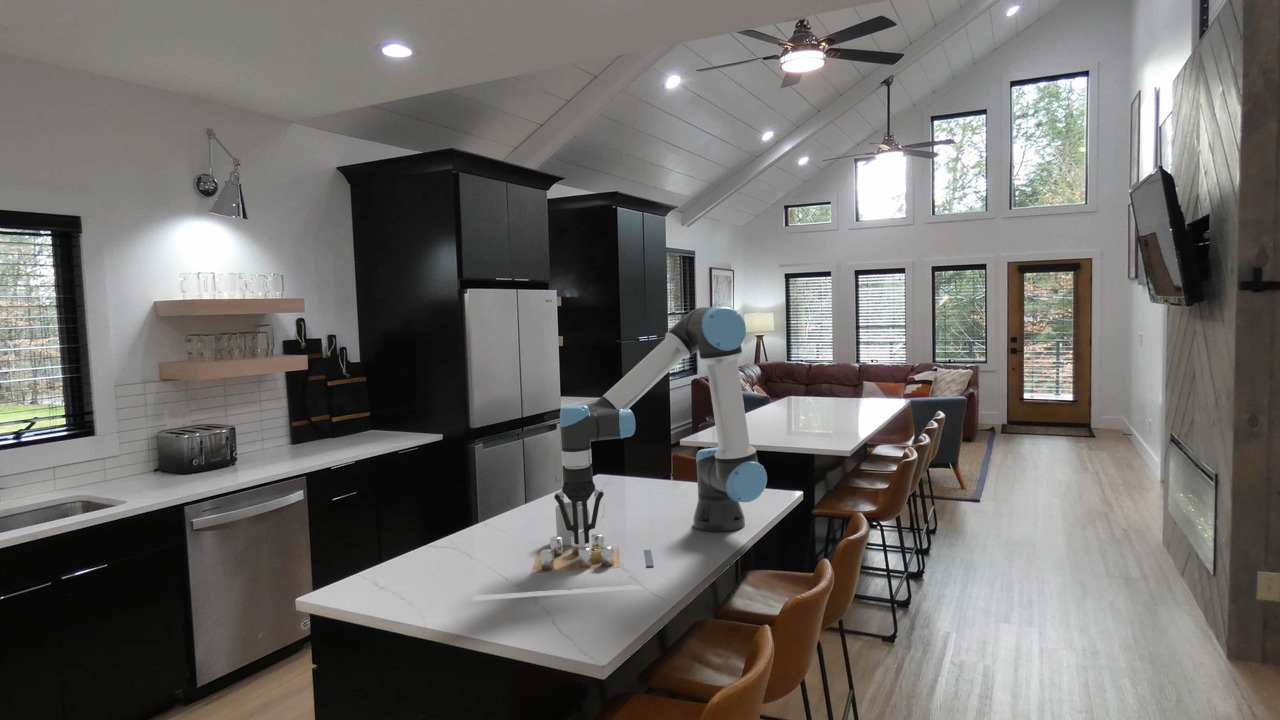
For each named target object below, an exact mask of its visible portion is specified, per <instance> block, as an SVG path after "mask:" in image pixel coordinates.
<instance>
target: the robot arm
mask: <svg viewBox="0 0 1280 720" xmlns="http://www.w3.org/2000/svg"><path fill="white" fill-rule="evenodd" d="M746 334H747V325H746V323H745V321H744V318H743V317H742V315H741V314H740V313H739V312H738V311H737V310H735V309H734V308H733V307H732V308H731V307H730V306H729V307H728V306H722V305H718V306H708V307H706V306H705V307H699V308H698V307H697V308H695V309H693V310H691V311H689V312H687V314H685V315H684V316H683V317H682V318H681V319H680V320H679V321H678V322H676V323H675V325H673V326H672V328H670V329H669V330H668V331H667V332H666V333H665V337H664V339H663V340H662V341H661V342H660V343H658V345H657V346H655V347H654V349H653V350H651V351H650V352H649V353H648V354H647V355H646V356H645V357H644V358H642V360H641V361H639V362H638V363H637V364H636V365H635V366H634V367H632V369H631V370H629V371H628V372H627V373H626V374H625V375H624V376H623V377H622V378H620V380H619V381H618V382H617V383H615V384H614V385H613V386H612V387H611V388H609V390H608V391H606V393H604V394H603V395H602V396H601V397H600V398H599V399H597V400H596V401H595V402H594V403H591V404H590V403H589V404H588V405H584V404H573V405H571V404H570V405H567V406H566V405H565V406H563V407H561V409H560V411H559V428H560V429H559V430H560V438H561V441H560V442H561V459H562V460H561V463H562V466H563V468H562V475H563V476H562V477H563V485H562V487H561V490H560V491H559V492H556V493H555V494H554V497H553V499H554V500H555V501H556V503H558V504H559V506H560V510H561V513H562V516H563V519H564V522H565V526H566V529H567V530H568V531H573V532H574V543H575V544H579V548H581V547H586V544H589V543H590V531H591V530H593V529H595V528H596V525H597V519H598V513H599V508H600V503H601V501H602V498H603V497H604V495H605V494H604V489H598V488H597V487H596V484H595V483H594V480H593V479H594V477H593V466H592V462H593V460H592V445H591V444H592V443H591V442H596V441H603V440H604V441H605V440H615V439H624V438H629V437H632V436H633V435H635V431H636V418H635V415H634V414H635V413H634V412H633V411H632V409H630V408H631V407H632V406H633V405H634V404H635V403H636V402H637V401H639V400H640V398H642V397H643V396H644V395H645V394H646V393H648V391H649V390H651V388H653V387H654V385H656V384H657V383H658V382H660V380H661V379H662V378H664V376H666V375H667V374H668V373H669V372H670V371H671V370H673V368H674V367H675V366H676V365H678V364H679V363H680V362H681V361H682V360H683V359H689V358H690V357H692V355H694V354H695V353H697V352H698V353H699V358H700V360H701V361H702V362H703V363H705V365H706V371H707V377H708V383H709V391H710V396H711V405H712V411H713V417H714V423H715V424H714V425H715V431H716V438H717V444H718V446H717V447H710V448H709V447H708V448H704V449H703V448H702V449H700V450H698V451H697V452H696V456H695V457H696V461H695V464H696V477H697V479H696V480H697V494H698V495H697V496H698V497H697V499H698V500H697V504H696V508H695V512H694V514H693V519H692V520H693V527H694V528H696V529H697V530H700V531H706V532H715V533H716V532H720V533H722V532H730V531H735V530H739V529H741V528H744V526H745V525H746V524H745V523H746V520H745V519H746V518H745V515H744V512H743V509H742V507H741V504H740V503H751V502H754V501H755V500H757V499H758V498H760V496H761V495H762V494H763V492H765V489H766V486H767V483H768V475H767V471H766V469H765V468H764V466H763V465H762V464H761V463H760V462H759V461H758V455H757V449H756V448H755V447H753V446H752V445H751V443H750V437H749V432H748V431H749V430H748V425H747V424H748V423H747V416H746V411H745V402H744V397H743V396H744V395H743V388H742V382H741V376H740V375H741V374H740V368H739V358H740V357H741V355H742V353H743V349H742V344H743V342H744V340H745V339H746ZM593 493H594V495H593ZM592 495H593V496H594V498H595V499H594V505H593V510H592V515H591V519H590V522H589V524H588V510H589V508H588V500H589V499H590V498H591V496H592ZM565 497H566V498H567V499H568V500H569V502H572V512H573V525H571V522H570V518H569V515H568V512H567V509H566V506H565V503H566V502H565V501H564V499H565ZM577 502H581V503H582V511H583V527H584V530H579V524H578V507H577ZM558 504H557V505H558Z"/></svg>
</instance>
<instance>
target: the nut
mask: <svg viewBox="0 0 1280 720" xmlns="http://www.w3.org/2000/svg"><path fill="white" fill-rule="evenodd" d="M590 547H591V553H592V562H599V561H601V549H600V547H592V546H590ZM601 547H602V546H601Z"/></svg>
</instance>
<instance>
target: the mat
mask: <svg viewBox="0 0 1280 720" xmlns="http://www.w3.org/2000/svg"><path fill="white" fill-rule="evenodd" d="M643 556H644V557H643V558H644V562H645V568H654V566H655V565H654V561H653V559H654V558H653V554H652V550H651V549H643Z"/></svg>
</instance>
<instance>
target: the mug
mask: <svg viewBox="0 0 1280 720" xmlns="http://www.w3.org/2000/svg"><path fill="white" fill-rule="evenodd" d="M564 503H565V506H566V509H567V512H568V515H569V518H570V522H571V525H573V512H572V502H571V501H569V502H568V501H567V502H564ZM577 507H578V524H579V530H584V527H583V511H582V502H577ZM554 512H555V523H556V524H555V525H556V536H561V537H562V544H563V546H571V536H573V535H574V532H573V531H568V530H567V529H566V526H565V522H564V519H563V516H562V513H561V510H560V506H559V504H557V505H555V511H554ZM590 517H591V515H590V511H589V509H588V524H590V523H591V518H590Z"/></svg>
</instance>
